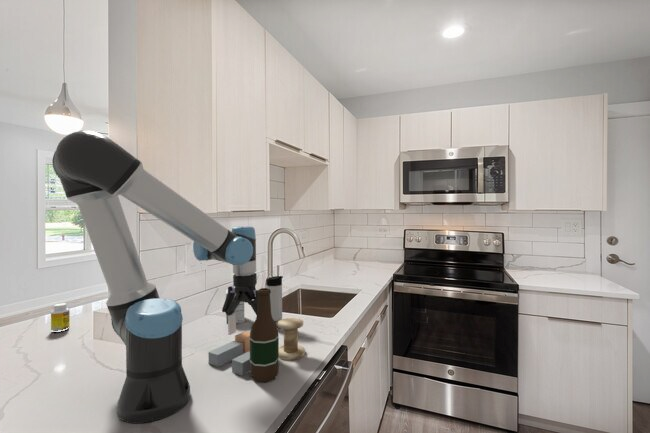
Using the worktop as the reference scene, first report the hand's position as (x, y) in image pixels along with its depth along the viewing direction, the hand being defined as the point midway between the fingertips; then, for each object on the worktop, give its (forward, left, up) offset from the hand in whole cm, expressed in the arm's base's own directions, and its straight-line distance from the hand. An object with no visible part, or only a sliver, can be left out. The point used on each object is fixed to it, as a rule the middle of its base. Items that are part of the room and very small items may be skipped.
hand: (246, 337), depth 107 cm
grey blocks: (-8, -5, -4) cm, 11 cm away
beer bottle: (-11, -17, -4) cm, 21 cm away
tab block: (0, 0, -4) cm, 4 cm away
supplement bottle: (-24, +74, -4) cm, 78 cm away
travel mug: (+22, +6, -4) cm, 23 cm away
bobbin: (+5, -15, -4) cm, 16 cm away
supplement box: (+19, +25, -4) cm, 31 cm away
